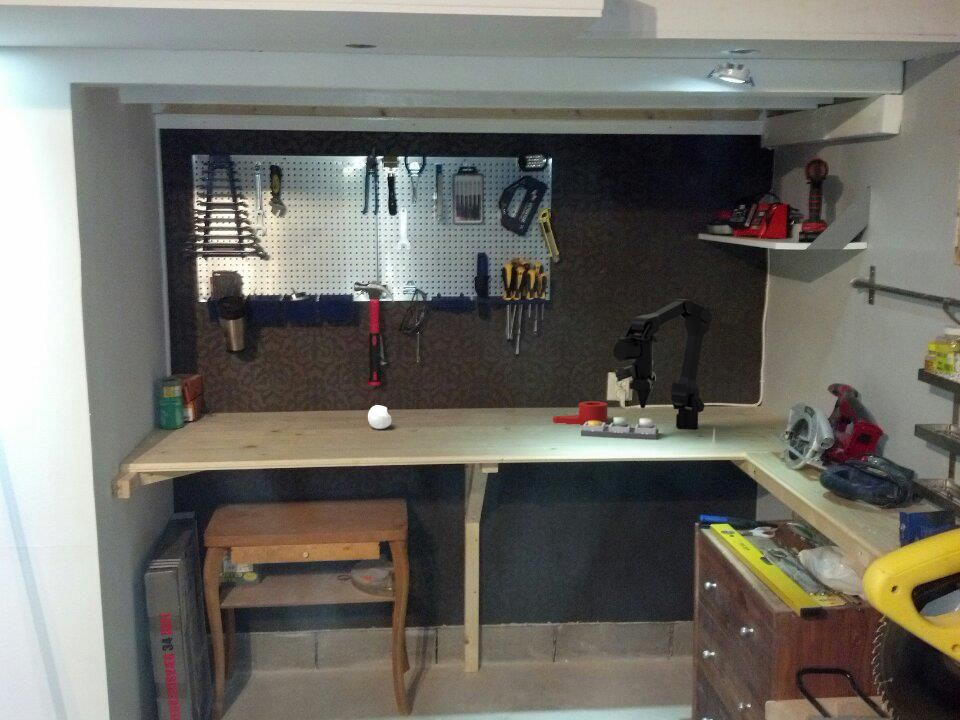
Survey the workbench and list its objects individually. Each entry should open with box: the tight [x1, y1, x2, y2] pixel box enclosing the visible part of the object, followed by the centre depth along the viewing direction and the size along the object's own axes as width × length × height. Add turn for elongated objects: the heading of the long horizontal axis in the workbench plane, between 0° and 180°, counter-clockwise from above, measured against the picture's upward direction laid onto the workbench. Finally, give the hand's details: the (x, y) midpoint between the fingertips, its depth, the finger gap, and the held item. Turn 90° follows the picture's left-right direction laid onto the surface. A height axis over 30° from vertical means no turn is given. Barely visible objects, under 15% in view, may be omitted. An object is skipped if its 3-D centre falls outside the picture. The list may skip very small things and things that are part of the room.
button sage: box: [613, 416, 628, 426], centre depth 291 cm, size 4×4×2 cm
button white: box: [638, 417, 654, 427], centre depth 289 cm, size 4×4×2 cm
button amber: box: [588, 420, 601, 426], centre depth 293 cm, size 4×4×2 cm
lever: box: [552, 400, 608, 426], centre depth 310 cm, size 18×9×7 cm, turn 90°
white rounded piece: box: [367, 404, 392, 430], centre depth 300 cm, size 8×8×8 cm
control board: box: [580, 422, 659, 441], centre depth 291 cm, size 23×9×3 cm, turn 75°
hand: (642, 407), depth 289 cm, fingers closed
